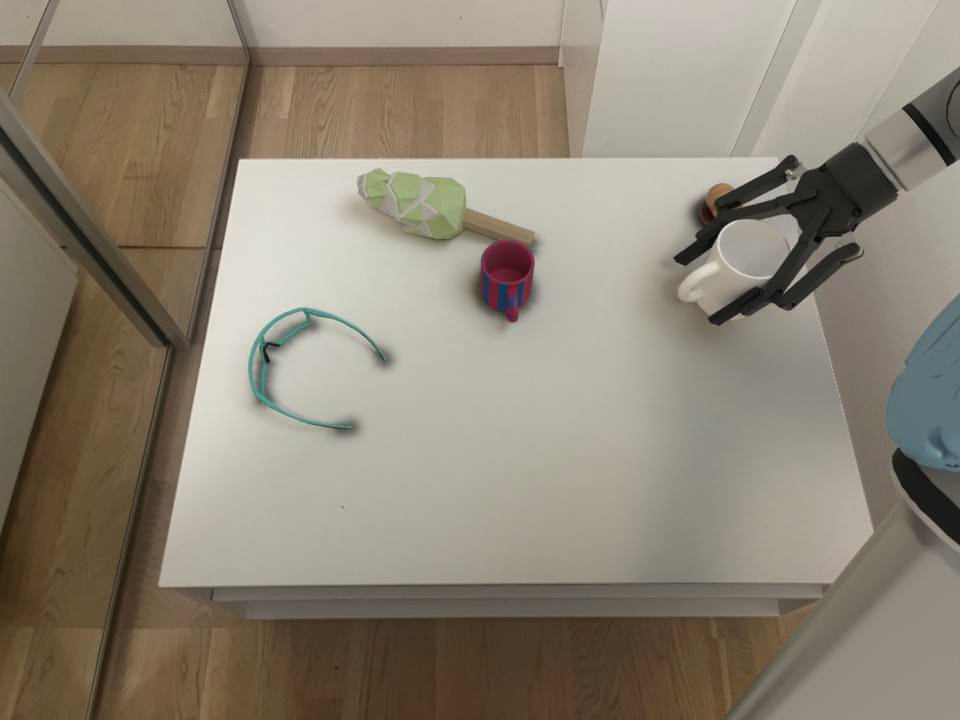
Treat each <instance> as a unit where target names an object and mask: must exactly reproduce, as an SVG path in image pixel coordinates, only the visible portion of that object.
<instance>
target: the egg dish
mask: <svg viewBox="0 0 960 720" xmlns="http://www.w3.org/2000/svg"><path fill="white" fill-rule="evenodd" d="M734 189H735V187H734V186H732V185H731V184H730V183H727V182H726V183H725V182H721V183H716V184H714V185H712V186H711V187H710V188H709V190H708V191H707V193H706V196H705V201H704V202H703V203H702V204H701V206H700V208H699V211H698V217H699V221H700V222H701V223H702V225H703V227H705V226H706V225H707V224H709V223H710V222H712V221H713V220H714V219H715V218H716V216H717V210H716V207H715V205H714V202H715V200H716V199H717V198H719V197H721V196H723V195H725V194H726V193H728V192H730V191H732V190H734ZM742 207H744V204H743V205H741V206H740V207H738V208H742ZM738 208H736V209H738Z"/></svg>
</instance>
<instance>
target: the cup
mask: <svg viewBox="0 0 960 720" xmlns="http://www.w3.org/2000/svg"><path fill="white" fill-rule="evenodd" d="M530 249H531V248H528V247H527V246H525V245H524V244H522V243H520V242H518V241H514V240H496V241H494V242H493V243H491V244H489V245H488V246H487V247H486V248H485V249H484V251H483V252H482V255H481V257H480V295H481V298H482V300H483V301H484V303H485V304H486V305H487V306H488V307H490V308H491V309H493V310H495V311H498V312H503V313H504V312H505V313H506V317H507V320H508V322H509V323H516V322H517V321H518V320H519V310H520V309H521V308H522V307H524V306H525V305H526V304H527V303H528V301H529V299H530V297H531V295H532V294H531V293H532V287H533V279H534V272H535V264H536V262H535V261H536V260H535V256H534V254H533V251H531V250H530Z"/></svg>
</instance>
